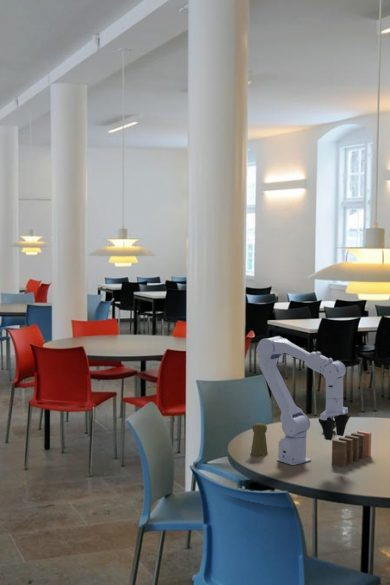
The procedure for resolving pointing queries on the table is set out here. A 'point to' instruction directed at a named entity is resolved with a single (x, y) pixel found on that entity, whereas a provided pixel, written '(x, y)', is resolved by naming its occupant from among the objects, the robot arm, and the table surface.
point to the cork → (259, 440)
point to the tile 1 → (339, 453)
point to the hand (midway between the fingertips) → (334, 437)
